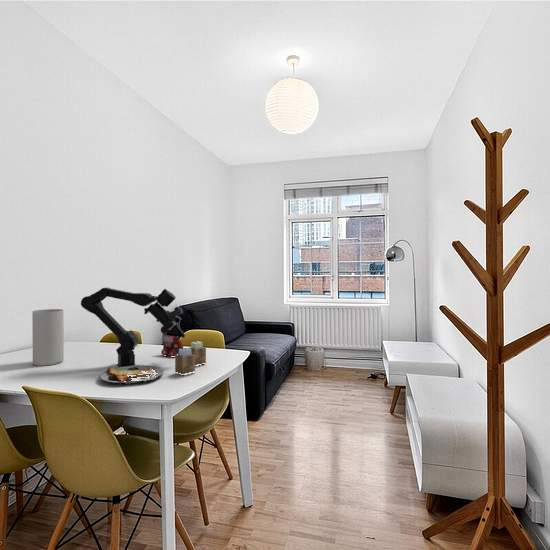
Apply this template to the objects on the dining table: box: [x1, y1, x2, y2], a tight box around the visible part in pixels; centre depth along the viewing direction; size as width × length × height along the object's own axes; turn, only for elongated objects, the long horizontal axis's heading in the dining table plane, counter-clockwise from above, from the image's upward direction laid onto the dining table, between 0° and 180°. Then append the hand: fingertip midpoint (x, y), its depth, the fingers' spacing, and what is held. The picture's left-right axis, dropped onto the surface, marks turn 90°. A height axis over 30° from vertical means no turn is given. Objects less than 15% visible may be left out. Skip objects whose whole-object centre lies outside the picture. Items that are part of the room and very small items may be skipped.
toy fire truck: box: [160, 334, 184, 357], centre depth 187 cm, size 7×12×10 cm, turn 65°
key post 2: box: [174, 354, 196, 374], centre depth 155 cm, size 6×6×8 cm
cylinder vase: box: [31, 308, 65, 367], centre depth 171 cm, size 12×12×25 cm
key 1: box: [190, 340, 204, 349], centre depth 169 cm, size 4×4×8 cm
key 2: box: [179, 347, 191, 357], centre depth 155 cm, size 4×4×8 cm
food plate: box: [98, 364, 165, 384], centre depth 149 cm, size 25×23×4 cm
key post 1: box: [188, 346, 207, 365], centre depth 170 cm, size 6×6×8 cm
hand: (184, 336), depth 169 cm, fingers closed
